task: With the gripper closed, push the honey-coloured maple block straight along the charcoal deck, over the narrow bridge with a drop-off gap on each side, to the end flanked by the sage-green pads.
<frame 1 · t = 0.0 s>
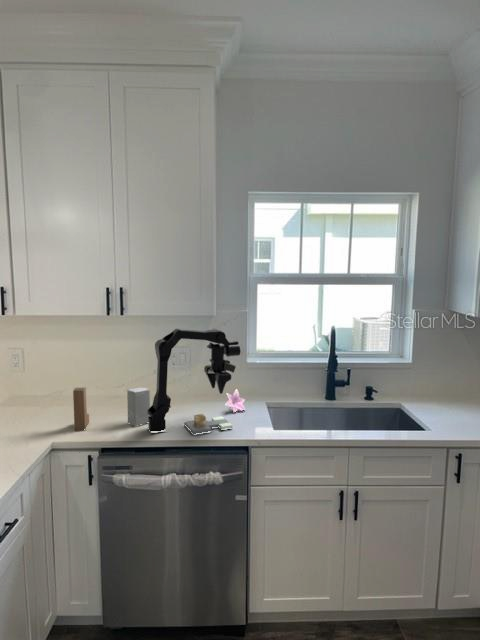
hand: (217, 390, 199), 15 cm above the table, tool pointing down, fingers open, 9 cm apart
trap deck: (208, 427, 194), on the table
lily: (234, 411, 216), on the table
skincare box: (139, 423, 198), on the table
wooden block: (82, 427, 192), on the table
maple block: (199, 424, 192), point 2 cm above the table, touching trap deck
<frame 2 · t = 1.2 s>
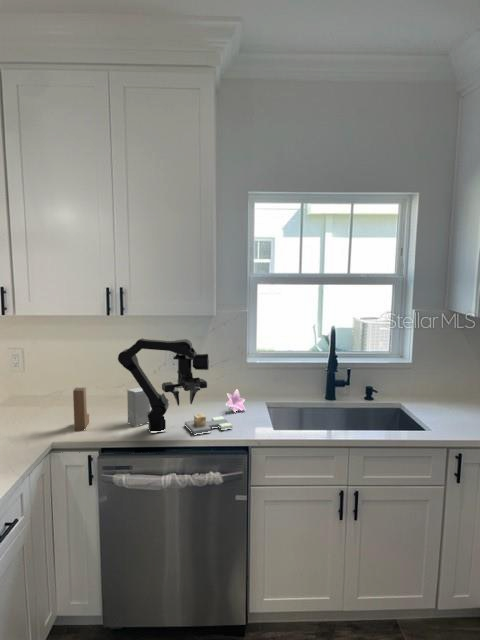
hand: (184, 404, 188), 12 cm above the table, tool pointing down, fingers open, 5 cm apart
nothing on the table moved.
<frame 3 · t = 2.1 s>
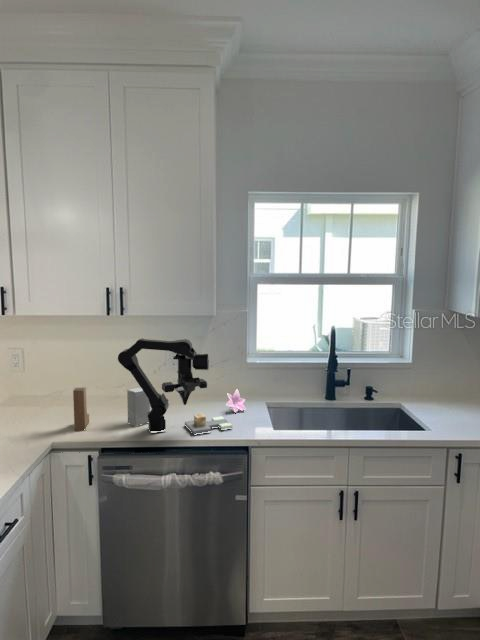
hand: (184, 404, 188), 12 cm above the table, tool pointing down, fingers closed
nothing on the table moved.
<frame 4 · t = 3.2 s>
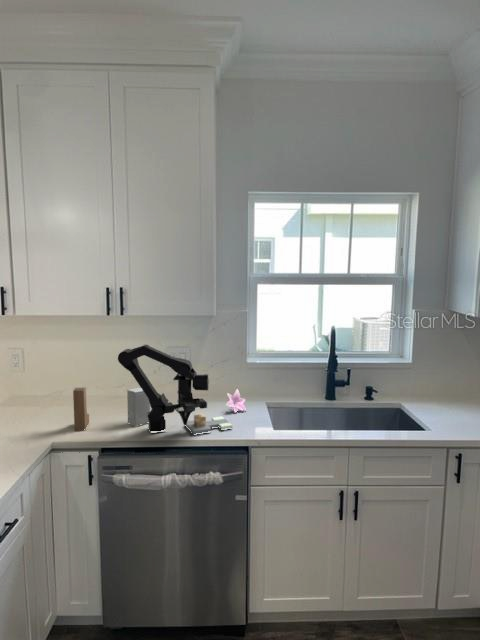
hand: (184, 424, 189), 3 cm above the table, tool pointing down, fingers closed
nothing on the table moved.
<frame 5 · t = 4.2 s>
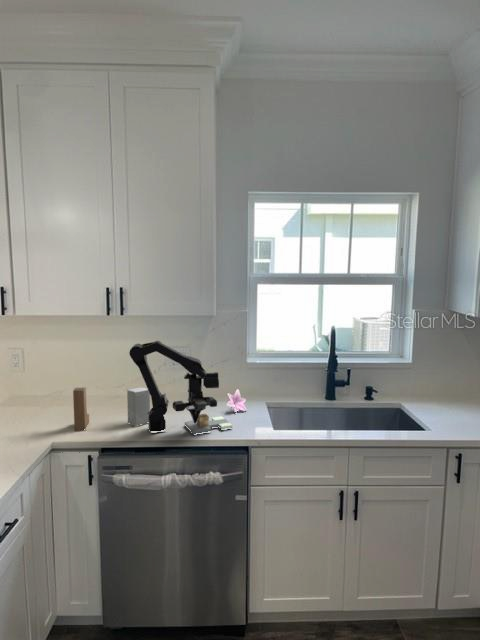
hand: (194, 422, 191), 3 cm above the table, tool pointing down, fingers closed
maple block: (202, 424, 192), point 2 cm above the table, touching gripper
everything else where it was.
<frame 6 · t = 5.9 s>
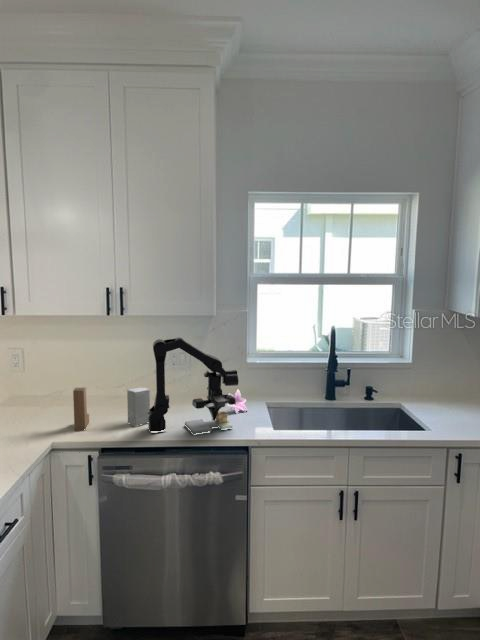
hand: (213, 420, 194), 3 cm above the table, tool pointing down, fingers closed
maple block: (221, 421, 196), point 2 cm above the table, touching gripper, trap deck
everything else where it was.
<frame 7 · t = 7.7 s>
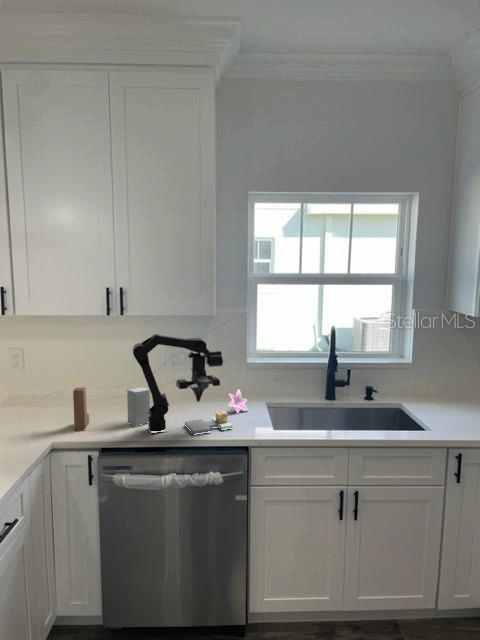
hand: (198, 401, 193), 12 cm above the table, tool pointing down, fingers closed
maple block: (221, 421, 196), point 2 cm above the table, touching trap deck
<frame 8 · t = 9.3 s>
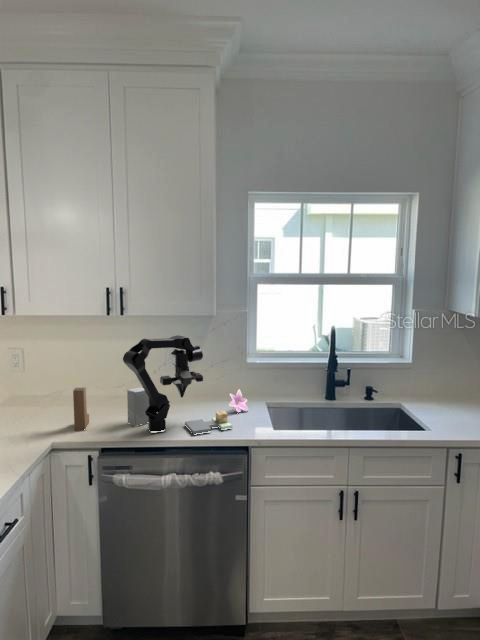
hand: (181, 397, 198), 12 cm above the table, tool pointing down, fingers closed
at the end: maple block 0.4 cm from the target spot, point 2.0 cm above the table; maple block tilted 0°; maple block touching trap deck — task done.
